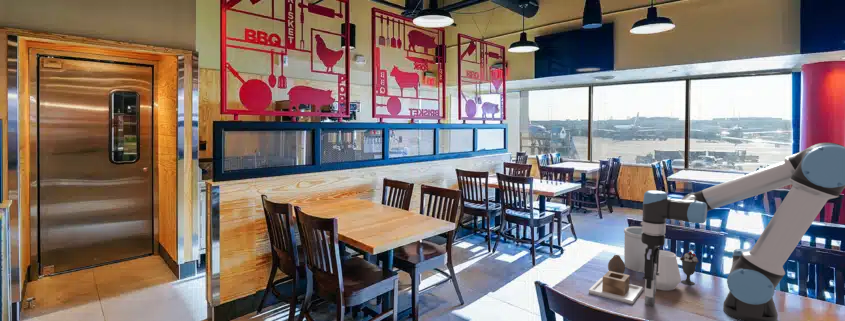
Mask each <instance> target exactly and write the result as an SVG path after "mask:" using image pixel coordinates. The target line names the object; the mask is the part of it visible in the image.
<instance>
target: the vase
mask: <svg viewBox="0 0 845 321" xmlns="http://www.w3.org/2000/svg"><path fill="white" fill-rule="evenodd" d="M607 271H612V272H617V273H621V274H625V271H626V267H625V261H624V260H623V259H622V257H621V255H618V254H614V255H613V256H612V257H611V259H610V260H609V261H608V264H607Z"/></svg>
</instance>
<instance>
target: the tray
mask: <svg viewBox="0 0 845 321" xmlns="http://www.w3.org/2000/svg"><path fill="white" fill-rule="evenodd" d="M602 285H603V276H602V277H600V278H599V279H598V280H597V281H596V282H595V283H594V284H593V285H592V286H591V287H590V288H589V289H588V294H590V295H594V296H599V297H602V298H605V299H610V300H614V301H617V302H621V303H625V304H629V305H634V303H635V302H636V300H637V299H638V298H639V296H640V295H641V294H642V292H643V290H644V288H643V286H639V285H635V284H632V283H629V291H628V292H627V293H626V294H625V296H620V295H616V294H612V293H608V292H604V291H602Z"/></svg>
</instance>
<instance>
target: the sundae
mask: <svg viewBox="0 0 845 321" xmlns="http://www.w3.org/2000/svg"><path fill="white" fill-rule="evenodd" d="M696 250H697V249H696V248H694V249H693V250H692V251H689V252H686V253H685V254H684V255H683V254H682V253H681V254H680V256H681V257H679V261H681V265H682V272H683V273H684V274H685V275H686V279H684V280H683V279H681V282H680V283H681V284H683V285H686V286H694V285H696V284H695V282H693V281H692V280H691V276H692V275H693V274H695V271H696V268H697V264H698V263H699V262H700V261H699V259H698V258H697V255H696V253H693V252H695V251H696Z"/></svg>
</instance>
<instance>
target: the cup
mask: <svg viewBox="0 0 845 321" xmlns="http://www.w3.org/2000/svg"><path fill="white" fill-rule="evenodd" d="M657 273H659V276H658V275H656V276H657V281H656V290H661V291H674V290H675V289H676V287H678V285H680V283H682V282H681V281H682V278H681V274H680V273H681V272H680V269H679V264H678V259H677V256H676V253H674V252H672V251H669V250H663V249H659V263H658V272H657Z"/></svg>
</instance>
